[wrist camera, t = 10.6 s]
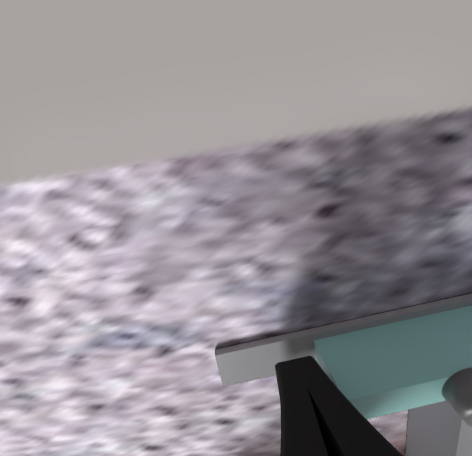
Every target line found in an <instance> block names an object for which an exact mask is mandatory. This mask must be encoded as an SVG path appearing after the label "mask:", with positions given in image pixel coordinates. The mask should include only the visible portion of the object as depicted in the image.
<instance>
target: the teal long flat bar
mask: <svg viewBox="0 0 472 456" xmlns="http://www.w3.org/2000/svg"><path fill="white" fill-rule="evenodd" d="M314 348H315V358H316V361H317V363H318V364H319V365H320V367H321V368H322V369H323V371H324V372H325V373H326V374H327V376H328V377H329V378H330V379H331V381H332V382H333V383H334V384H335V385H336V387H337V388H338V389H339V390H340V391H341V392H342V394H343V395H344V396H345V397H346V398H347V399H348V400H349V401H350V402H351V403H352V405H353V406H354V407H355V408H356V409H357V410H358V411H359V412H360V413H361V414H362V415H363V417H364V418H365V419H369V418H373V417H378V416H382V415H386V414H391V413H395V412H399V411H403V410H408V409H412V408H416V407H420V406H425V405H429V404H433V403H438V402H442V401H447V402H448V403H449V404H450V405H451V407H452V408H453V409H454V410H455V411H456V412H457V413H458V415H459V416H460V417H461V418H462V419H463V420H464V421H465V423H466V424H467V425H469V426H471V427H472V305H471V306H467V307H462V308H458V309H453V310H449V311H444V312H440V313H435V314H431V315H426V316H422V317H417V318H413V319H408V320H404V321H399V322H394V323H390V324H385V325H381V326H376V327H372V328H367V329H363V330H358V331H354V332H349V333H345V334H340V335H336V336H331V337H327V338H322V339H318V340H314Z"/></svg>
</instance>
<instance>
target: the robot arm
mask: <svg viewBox="0 0 472 456" xmlns="http://www.w3.org/2000/svg"><path fill="white" fill-rule="evenodd" d="M275 370H276V376H277V382H278V389H279V395H280V402H281V455H280V456H403V455H402V454H401V453H400V452H399V451H398V450H397V449H396V448H394V447H393V446H392V445H391V444H390V443H389V442H388V441H387V440H386V439H385V438H384V437H383V436H382V435H381V434H380V433H379V432H378V431H377V430H376V429H375V428H374V427H373V426H372V425H371V424H370V423H369V422H368V421H367V420H366V419H365V418H364V417H363V415H362V414H361V413H360V412H359V411H358V410H357V409H356V408H355V407H354V406H353V405H352V403H351V402H350V401H349V400H348V399H347V398H346V397H345V396H344V395H343V394H342V392H341V391H340V390H339V389H338V388H337V387H336V385H335V384H334V383H333V382H332V381H331V379H330V378H329V377H328V376H327V374H326V373H325V372H324V371H323V369H322V368H321V367H320V365H319V364H318V363H317V361H316V360H315V359H314V357H312V356H306V357H301V358H297V359H292V360H288V361H283V362H279V363H277V364H276V365H275Z"/></svg>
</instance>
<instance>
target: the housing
mask: <svg viewBox="0 0 472 456" xmlns="http://www.w3.org/2000/svg"><path fill="white" fill-rule="evenodd" d="M471 305H472V293H471V294H466V295H462V296H457V297H452V298H448V299H443V300H439V301H434V302H430V303H425V304H421V305H416V306H411V307H407V308H402V309H398V310H393V311H389V312H384V313H379V314H375V315H370V316H366V317H361V318H357V319H352V320H348V321H343V322H338V323H334V324H329V325H325V326H320V327H316V328H311V329H306V330H302V331H297V332H293V333H288V334H284V335H279V336H275V337H270V338H265V339H261V340H256V341H252V342H247V343H243V344H238V345H233V346H229V347H224V348H220V349H215V357H216V361H217V365H218V368H219V372H220V376H221V380H222V384H223V387H225V386H229V385H234V384H238V383H242V382H247V381H251V380H256V379H260V378H265V377H269V376H274V375H276V370H275V365H276V364H277V363H279V362H283V361H288V360H292V359H297V358H301V357H306V356H312V357H314V359H315V360H316V358H315V348H314V340H318V339H322V338H327V337H331V336H336V335H340V334H345V333H349V332H354V331H358V330H363V329H367V328H372V327H376V326H381V325H385V324H390V323H394V322H399V321H404V320H408V319H413V318H417V317H422V316H426V315H431V314H435V313H440V312H444V311H449V310H453V309H458V308H462V307H467V306H471ZM405 456H472V427H471V426H469V425H467V424H466V423H465V421H464V420H463V419H462V418H461V417H460V416H459V415H458V413H457V412H456V411H455V410H454V409H453V408H452V407H451V405H450V404H449V403H448V402H447V401H442V402H438V403H433V404H429V405H425V406H420V407H416V408H412V409H409V411H408V425H407V440H406V454H405Z"/></svg>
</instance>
